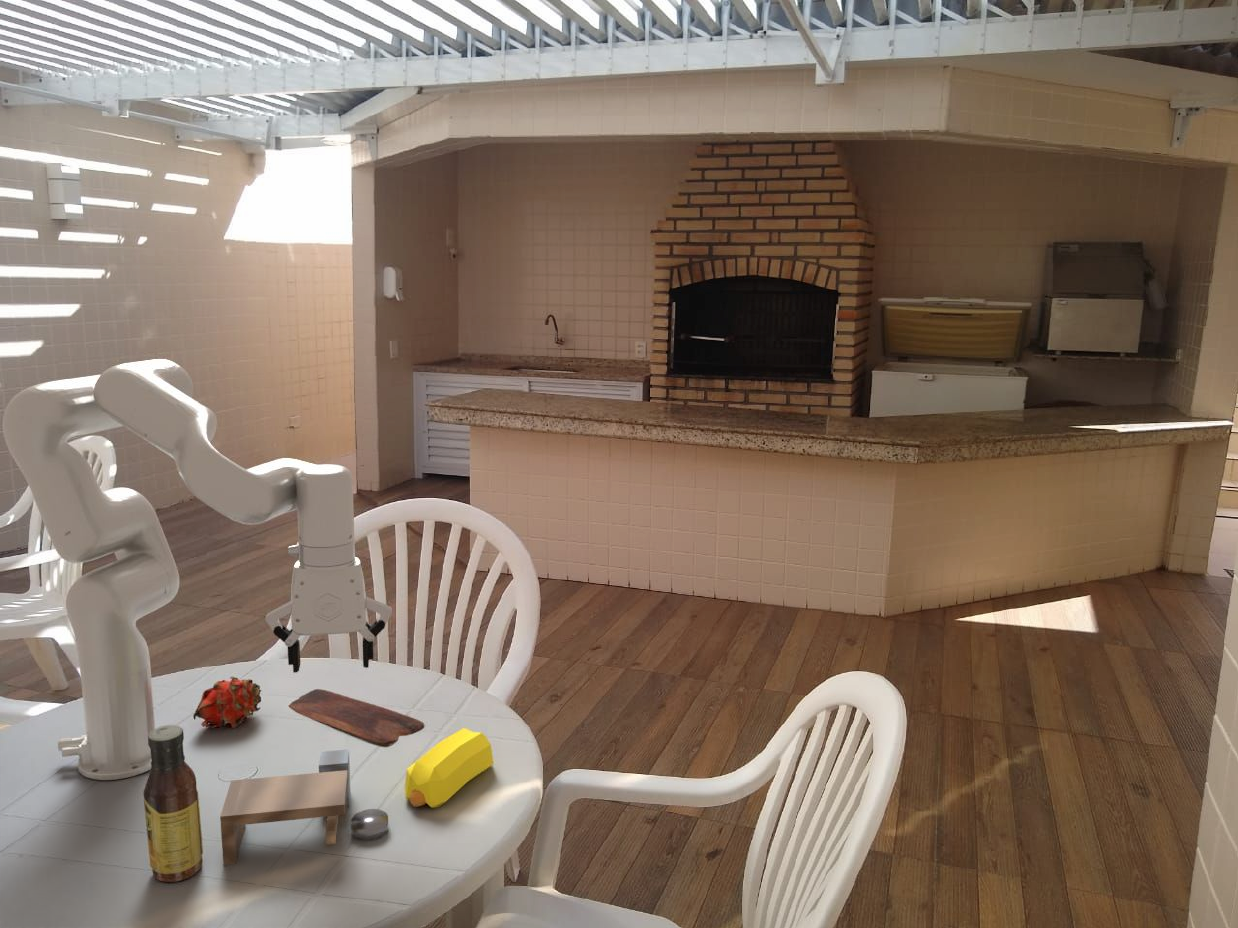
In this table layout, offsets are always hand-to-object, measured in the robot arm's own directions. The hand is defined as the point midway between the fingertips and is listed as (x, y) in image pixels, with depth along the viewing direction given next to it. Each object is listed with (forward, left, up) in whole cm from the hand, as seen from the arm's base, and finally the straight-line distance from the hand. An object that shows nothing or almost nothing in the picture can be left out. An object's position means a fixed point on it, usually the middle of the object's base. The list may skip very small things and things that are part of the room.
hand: (331, 666), depth 140 cm
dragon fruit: (-19, +26, -21) cm, 38 cm away
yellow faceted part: (+17, 0, -21) cm, 27 cm away
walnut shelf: (-5, -10, -20) cm, 24 cm away
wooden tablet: (+1, +26, -21) cm, 33 cm away
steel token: (+5, -10, -20) cm, 24 cm away
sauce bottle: (-19, -15, -20) cm, 32 cm away
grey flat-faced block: (0, -6, -20) cm, 21 cm away
